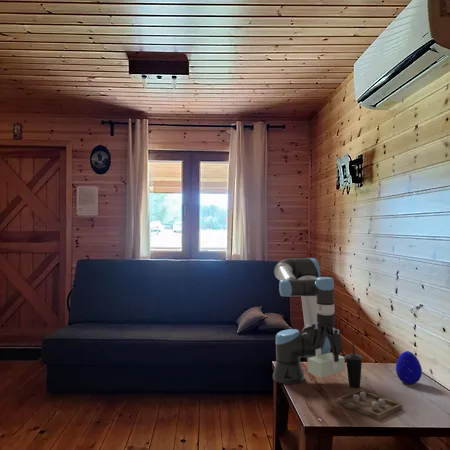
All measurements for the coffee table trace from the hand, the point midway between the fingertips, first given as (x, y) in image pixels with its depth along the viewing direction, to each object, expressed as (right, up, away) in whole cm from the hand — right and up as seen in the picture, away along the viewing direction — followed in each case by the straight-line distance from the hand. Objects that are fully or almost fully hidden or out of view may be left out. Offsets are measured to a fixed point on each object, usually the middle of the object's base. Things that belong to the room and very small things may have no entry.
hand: (326, 366), depth 176 cm
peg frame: (+15, -14, -8) cm, 22 cm away
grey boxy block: (0, -2, 0) cm, 2 cm away
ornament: (+43, -14, +16) cm, 47 cm away
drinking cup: (+16, -14, +13) cm, 25 cm away
